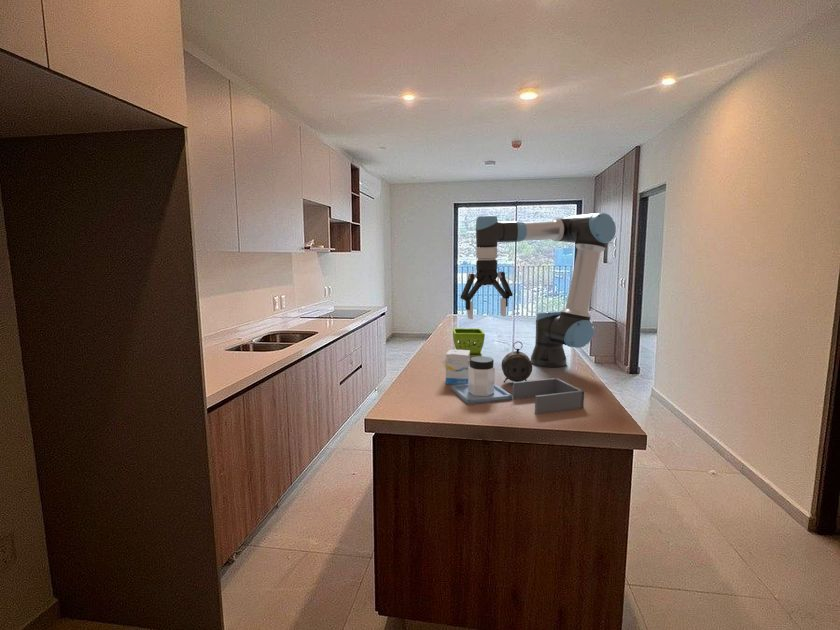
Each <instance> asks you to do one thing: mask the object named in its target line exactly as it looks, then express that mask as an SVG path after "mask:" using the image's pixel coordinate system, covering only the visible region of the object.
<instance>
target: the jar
mask: <svg viewBox="0 0 840 630" xmlns="http://www.w3.org/2000/svg"><path fill="white" fill-rule="evenodd" d="M495 369H496V368H495V366H494V359H493V358H492V357H489V356H483V355H482V356H478V357H472V358H470V366H469V369H468V392H470V393H471V394H472V395H474V396H489V395H491V394H493V393H494V384H495V376H496V375H495Z"/></svg>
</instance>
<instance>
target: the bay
mask: <svg viewBox="0 0 840 630" xmlns="http://www.w3.org/2000/svg"><path fill="white" fill-rule="evenodd" d="M533 397H535V398H534V414H536V415H538V414H546V413H552V412H553V413H554V412H561V411H570V410H578V409H583V408H584V407H585V405H584V404H585V403H584V402H585V390H583V389H581V388H579V387H576V386H574V385H572V384H570V383H568V382H566V381H564V380H562V379H560V378H558V377H553V378H552V377H551V378H543V379H542V378H541V379H540V378H539V379H533V380H527V381H525V380H524V381H521V382H514V381H512V399H513V400H517V399H525V398H526V399H527V398H533Z"/></svg>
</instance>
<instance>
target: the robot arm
mask: <svg viewBox="0 0 840 630" xmlns="http://www.w3.org/2000/svg"><path fill="white" fill-rule="evenodd" d="M616 231H617V226H616V223H615V221H614V218H613V217H612V216H611V215H610V214H608V213H605V212H594V213H583V214H575V215H571V216H567V217H560V218H557V217H555V218H554V219H552V220H545V221H544V220H542V221H539V220H538V221H520V220H519V221H518V220H512V221H510V220H509V221H507V220H505V221H499V220H498V216H496V215H479V216H477V217H476V223H475V241H476V242H475V247H476V248H475V253H476V254H475V255H476V259H477V260H476V261H475V262H476V263H475V266H476V273H470V272H469V273H468V274H467V275H468V276H467V281H466V283H465V286H464V288H463V290H462V292H461V295H460V297H459V298H460V299H461V300H463V301H465V310H467V319H469V320H473V319H474V318H473V315H474V313H473V312H474V310H473V309H474V308H473V307H474V305H473V304H474V302H473V300H472V299H473V297H474V296H475V295H476V293H478V291H479V290H480V289H481V287H482V286H493V287H494V288H495V289H496V291H497V292H498V293H499V295H500V296H501V297H500V303H499V304H500V311H499V312H500V313H499V315H500V316H502V317H506V316H507V307H508V306H509V305H508V304H509V303H508V300H509V299H510V297H513V296H514V294H513V291H512V290H511V288H510V285H509V283H508V281H507V279H506V278H507V277H506V272H504V271H499V272H498V271H497V270H498V260H497V258H498V243H517V242H523V241H525V242H526V241H542V240H543V241H544V240H545V241H546V240H547V241H548V240H551V241H553V242H555V243H556V242H564V243H566V242H567V243H571V244H572V243H574V247H575V248H576V249H577V252H576V258H575V261H574V267H573V271H572V277H571V281H570V286H569V291H568V295H567V300H566V305H565V308H563V309H561V310H555V311H554V310H551V311H550V310H549V311H539V312H538V313H536V318H535V340H534V341H535V344H534V347H533V350H532V353H531V355H530V361H531V363H532V365H535V366H538V367H544V368H561V367H564V366H566V365H567V357H566V354H565V350H564V346H567V347H570V348H576V349H580V348H584V347H586V345H589V343H590V342H592V341H591V340H592V339H593V338H594V334H595V327H594V325H593V323H592V321H591V315H590V313H589V307H590V302H591V297H592V294H593V290H594V289H593V288H594V284H595V279H596V275H597V271H598V270H597V269H598V265H599V260H600V258H601V257H600V256H601V253H602V252H603V251H605V250H606V248H607V244H608V243H611V242H612V240H614V238H615V236H616V233H617V232H616ZM497 278H499V280H500V282H499V281H498V280H497ZM475 280H476V282H475V283H474V281H475ZM499 283H500V284H501V285H500V284H499ZM473 284H474V285H473Z"/></svg>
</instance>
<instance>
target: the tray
mask: <svg viewBox="0 0 840 630" xmlns="http://www.w3.org/2000/svg"><path fill="white" fill-rule="evenodd" d="M450 390H451V391H452V392H453V393H454V394H456V396H458V397H459V398H460V399H461V400H462V401H463V402H464V403H465V404H467V406H468V405H475V404H477V405H478V404H485V403H494V402H495V403H496V402H504V401H510V400H511V401H512V400H513V394H511V393H509V392H508V391H506V390H505V389H503V388H502V387H501V386H499V385H497V384H495V383H494V393H493V394H491V395H489V396H474V395H472V394H471V393H470V392H468V384H460V385H453V384H450Z"/></svg>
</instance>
